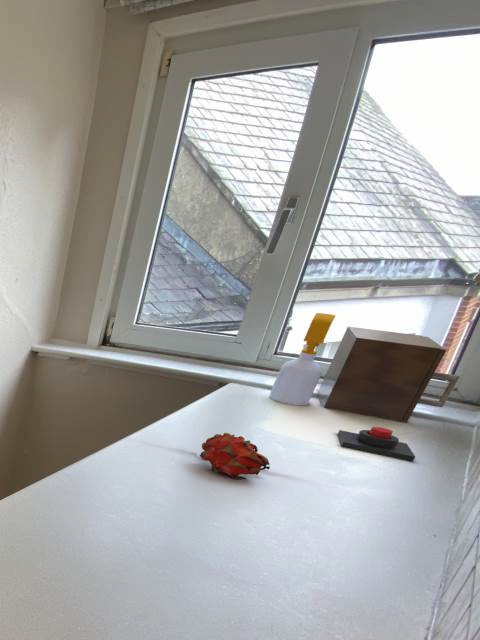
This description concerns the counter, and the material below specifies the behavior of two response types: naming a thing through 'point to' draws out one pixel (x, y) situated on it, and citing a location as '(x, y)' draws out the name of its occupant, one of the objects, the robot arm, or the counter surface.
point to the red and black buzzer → (375, 445)
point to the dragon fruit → (233, 455)
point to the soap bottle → (302, 367)
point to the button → (381, 432)
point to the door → (428, 377)
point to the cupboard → (377, 372)
